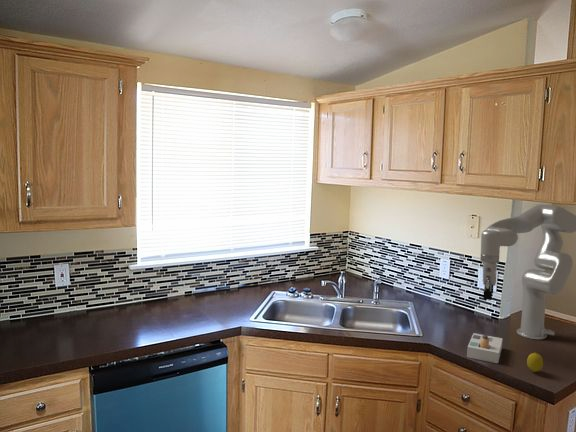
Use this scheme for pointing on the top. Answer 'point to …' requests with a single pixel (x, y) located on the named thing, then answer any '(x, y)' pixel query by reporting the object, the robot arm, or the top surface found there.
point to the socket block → (484, 349)
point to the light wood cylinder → (484, 342)
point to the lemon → (535, 362)
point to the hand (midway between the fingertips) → (488, 296)
